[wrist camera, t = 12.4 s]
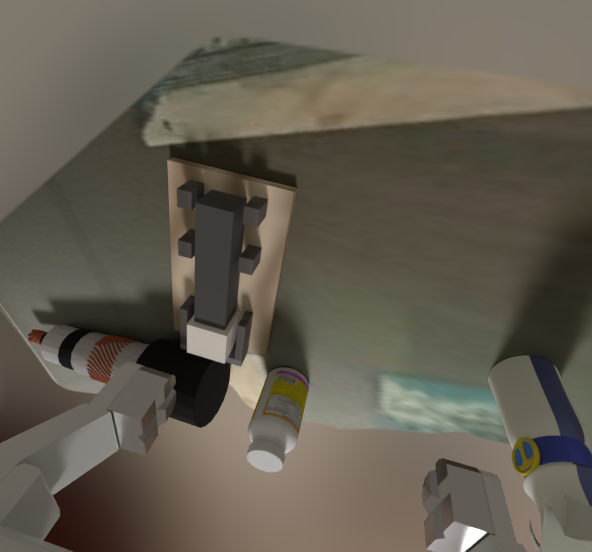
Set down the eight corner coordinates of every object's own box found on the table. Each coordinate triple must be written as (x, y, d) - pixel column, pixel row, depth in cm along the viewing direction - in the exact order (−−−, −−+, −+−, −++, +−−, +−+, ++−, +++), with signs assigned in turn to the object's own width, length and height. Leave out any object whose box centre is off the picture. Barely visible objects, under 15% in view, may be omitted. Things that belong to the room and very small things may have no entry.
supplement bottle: (284, 399, 57) (259, 480, 46) (259, 372, 54) (227, 450, 44) (318, 389, 53) (301, 473, 43) (293, 360, 51) (268, 440, 41)
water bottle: (470, 388, 47) (533, 655, 26) (508, 344, 42) (621, 630, 21) (531, 409, 46) (643, 697, 26) (576, 368, 41) (758, 681, 21)
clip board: (296, 188, 37) (287, 202, 34) (267, 351, 51) (258, 372, 48) (173, 157, 38) (151, 167, 35) (177, 324, 53) (163, 344, 49)
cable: (63, 301, 63) (3, 311, 53) (234, 347, 54) (198, 367, 44) (59, 355, 64) (-1, 374, 54) (225, 408, 55) (188, 441, 46)
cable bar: (252, 199, 38) (236, 217, 34) (237, 338, 50) (224, 363, 46) (206, 188, 38) (185, 204, 34) (203, 328, 50) (187, 352, 46)
